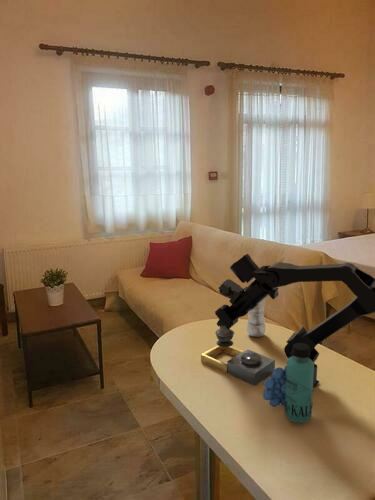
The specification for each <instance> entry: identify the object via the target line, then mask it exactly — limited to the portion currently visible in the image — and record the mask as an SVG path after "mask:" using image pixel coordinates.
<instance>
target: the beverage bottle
mask: <svg viewBox="0 0 375 500" xmlns="http://www.w3.org/2000/svg"><path fill="white" fill-rule="evenodd" d="M292 355H294V356H292V357H290V358H289V359H288V358H287V360H286V365H287V375H286V383H285V384H286V397H285V405H284V407H283V408H284V413H285V416H286V418H287V419H288V420H290V421H292V422H295V423H306V422H308V421H310V419H311V418H312V411H313V403H314V402H313V400H314V398H313V396H314V393H313V392H314V388H313V373H314V363H315V362H314V363H313V361H312V360H311V359H309V358H308V357H309V356H310V347H309V345H307V344H305V343H295V344H294V345H293V348H292Z"/></svg>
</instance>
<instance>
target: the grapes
mask: <svg viewBox="0 0 375 500" xmlns="http://www.w3.org/2000/svg"><path fill="white" fill-rule="evenodd" d="M286 375H287V364H286V365H285V366H284V369H283V368H282V367H275V370H274V371H273V373H272V375H271V376H269V377H267V378H266V379H265V380H263V387H264V388H265V389H264V391H263V393H262V398H263V399H264V400H265V401H268V403H269V406H270V407H271V408H277V407H279V406H280V405H281V407H283V408H285V407H284V405H285V397H286V384H285V383H286Z"/></svg>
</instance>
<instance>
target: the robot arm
mask: <svg viewBox="0 0 375 500" xmlns="http://www.w3.org/2000/svg"><path fill="white" fill-rule="evenodd" d="M229 269H230V270H231V272H232V273H233V274H234V275H235V277H236V278H237V279H238V280H239V281H240V282H241V283H243V284H245V283H246V284H248V283H250V282H252V281H253V282H252V283H250V284H249V285H247V286H245V287H242V286H241V285H239V284H238V283H236V282H235V281H234V280H232V279H230V278H229V279H225V280H224V281H222V283H221V285H220V286H219V287H218V292H219V294H220V295H221V296H223V297H227V298H229V301H228V302H229V303H230V304H231V305H229V304H224V303H223V305H221V306H220V307H219V308H217V310H215V311H214V314H215V316H216V317H217V318H218V320H217V322H216V325H217V327H220V326H225V327H226V328H228V329H229V328H230V329H231V328H232V327H234V325H236V324H237V323H238V322H239V318H241V317H244V316H246V315H247V314H249V313H248V312H249V311H250V310H253V309H254V308H255V307H256V306H257V305H258V303H260V302H261V301H262V300H263V299H264V298H267V297H268V296H269V297H270V298H271V300H275V299H276V298H277V297H278V296H279V288H280V287H286V286H289V285H292V284H296V283H306V282H307V283H310V282H311V283H313V282H314V283H315V282H342V283H344V284H345V285H346V286H347V288H348V289H350V291H351V292H352V294H353V295H354V298H353V299H352V300H351V301H350V302H349V303H347V304H345V305H344V306H343V307H341V308H339V310H337V311H336V312H334V313H332V314H331V315H329V317H326V318H325V319H324V320H323V321H321V322H320V323H318V324H317V325H316V326H314V327H312V328H311V329H306V328H305V326H302V327H301V328H300V329H299V330H298V331H295V332H293V333H292V335H291V336H290V337H289V338H288V339H287V340H286V345H284V351H283V352H284V354H285V356H286V358H287V360H288V359H289V358H290V357H292V356H294V355H292V348H293V345H294V344H295V343H305V344H307V345H309V347H310V356H309V357H308V358H309V359H311V360H312V361H313V363H314V373H313V389H314V388H315V387H316V386H317V385H319V384H320V380H318V374H317V373H318V364H315V362H316V361H317V359H318V358H319V356H320V352H318V350H317V349H316V348H315V347H316V346H317V345H319V344H320V343H321V342H323V341H325V340H326V339H328V338H329V337H331V336H332V335H333V334H335V333H337V332H339V331H340V330H341V329H343V328H344V327H346V326H347V325H349V324H350V323H352V322H354V321H355V320H356V319H358V318H361V317H363V316H368V315H371V314H373V313H375V277H373V276H372V275H371V274H369V273H367V272H366V271H363V270H362V269H360V268H358V267H357V266H355V264H353V263H352V262H344V263H336V264H335V263H333V264H313V265H312V264H310V265H297V264H294V263H293V264H292V263H290V262H289V263H288V262H281V261H280V262H279V261H278V262H274V264H271V265H262V266H260V267H259V266H258V264H256V262H255V261H254V260H253V259H252V257H251V255H249V253H246V254H244V255H243V256H241V258H239V259H238V260H237V261H235V262H233V263H232V265H230V266H229ZM253 279H254V280H253Z"/></svg>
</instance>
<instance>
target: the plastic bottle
mask: <svg viewBox="0 0 375 500" xmlns="http://www.w3.org/2000/svg"><path fill="white" fill-rule="evenodd" d="M253 281H254V280H251V281H250V282H251V283H252V282H253ZM251 283H250V284H251ZM266 298H267V297H266ZM266 298H264V299H263V300H262V301H261V302H260V303H258V305H257V306H256V307H255V308H254V309H253V310H250V311H249V312H248V313H247V314H248V315H247V324H246V332H247V334H248V335H249V336H251V337H254V338H259V337H263V336H264V335H265V334H266V323H265V304H266Z"/></svg>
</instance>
